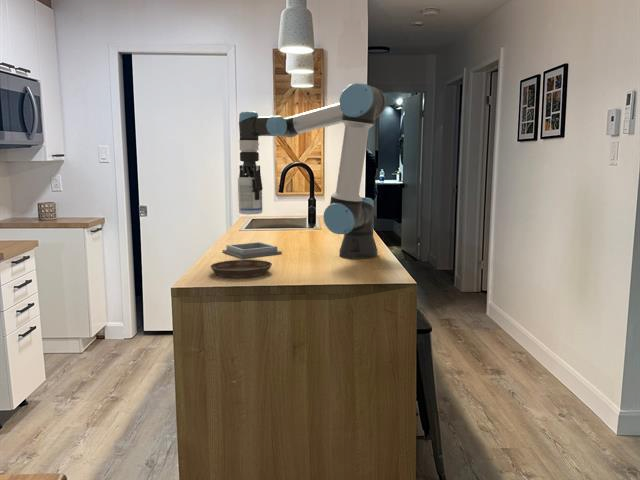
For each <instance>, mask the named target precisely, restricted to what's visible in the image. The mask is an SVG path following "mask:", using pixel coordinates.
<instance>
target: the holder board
mask: <svg viewBox="0 0 640 480" xmlns="http://www.w3.org/2000/svg"><path fill="white" fill-rule="evenodd" d="M225 246H226V249H222V253H224V254H226V255H230V256H232V257H236V258H239V259H240V260H244V259H250V258H258V257H259V258H260V257H267V256H268V257H269V256H275V255H276V256H277V255H282V254H283V252H282V251H281V250H279V249H278V246H277V245H274V244H273V245H272V244H269V243H264V242H263V241H262V242H261V241H256V242H247V243H245V242H244V243H236V244H227V245H225Z"/></svg>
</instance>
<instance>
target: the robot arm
mask: <svg viewBox="0 0 640 480" xmlns="http://www.w3.org/2000/svg"><path fill="white" fill-rule="evenodd" d="M386 99H387V98H386V96H385V94H384V93H383V91H382V90H381V89H379V88H377V87H375V86H371V85H368V84H366V83H360V82H359V83H357V82H356V83H351V84H349V85H348V86H346V87H345V88H344V89H343V90H342V92H341V94H340V96H339V99H338V100H339V101H338V103H334V104H331V105H328V106H324V107H321V108H317V109H313V110H309V111H306V112H301V113H299V114H298V113H297V114H295V115H290V116H288V117H284V116H281V115H270V116H269V115H268V116H259V113H258V112H256V111H241V112H240V113H239V116H238V117H239V118H238V126H239V128H238V131H239V141H238V142H239V151H240V152H239V161H240V162H243V164H240V165H239V168H238V169H239V175H238V178H240V177H250V178H254V179H252V186H253V191H252V193H253V208H260V194H259V192H260V191H261V190H262V191H263V183H262V176H261V175H262V174H261V165H259V164H258V165H257V163H256V162H259V161H260V155H259V154H260V153H259V152H258V151H259V150H260V149H259V145H260V143H259V137H282V138H283V137H284V138H294V137H297V136H298V135H299V134H303V133H306V132H311V131H312V132H313V131H316V130H320V129H323V128H328V127H331V126H335V125H339V124H343V125H344V132H343V133H344V134H343V140H342V146H341V154H340V161H339V168H338V174H337V181H336V189H335V192H334V193H332V194H331V195H330V202H329V205H328V206H327V207H326V208H325V210H324V212H323V222H324V225H325V227H326V228H327V230H328V231H330V232H331V233H333V234H336V235H343V238H342V241H341V245H340V247H339V256H340V257H342V258H347V259H370V258H376V257H378V254H379V253H378V252H379V251H378V248H377V243H376V242H375V238H374V217H375V216H374V215H375V214H374V209H375V205H374V199H373V198H372V197H371V198H370V197H362V196H360V190H361V184H362V176H363V170H364V163H365V157H366V150H367V144H368V143H367V142H368V139H369V138H368V136H369V130H370V129H371V128H372V127H373V126H374V125H375V119H376V118H379V117H380V116H381V115H382V114H383V113H384V111H385V109H386V105H387V100H386Z"/></svg>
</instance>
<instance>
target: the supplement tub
mask: <svg viewBox="0 0 640 480" xmlns="http://www.w3.org/2000/svg"><path fill="white" fill-rule="evenodd" d="M252 179H254V178H250V177H240V178H239V177H237V195H238V196H237V197H238V213H239V214H240V215H247V216H249V215H261V214H262V213H263V190H261V191H260V192H259V194H260V208H253V193H252V191H253V186H252Z"/></svg>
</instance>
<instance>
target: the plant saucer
mask: <svg viewBox="0 0 640 480" xmlns="http://www.w3.org/2000/svg"><path fill="white" fill-rule="evenodd" d="M272 265H273V263H272V262H270V261H266V260H262V259H261V260H260V259H259V260H257V259H238V260H237V259H235V260H233V259H232V260H225V261H219V262H216V263H215V262H214V263H212V264H211V265H210V268H211V270H212V272H214V274H216V275H217V276H219V277H221V278H230V279H231V278H232V279H242V278H243V279H244V278H245V279H247V278H255V277H259V276H263V275H265V274H266V273H267V272H268V271H269V270H270V269H271V267H272Z"/></svg>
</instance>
